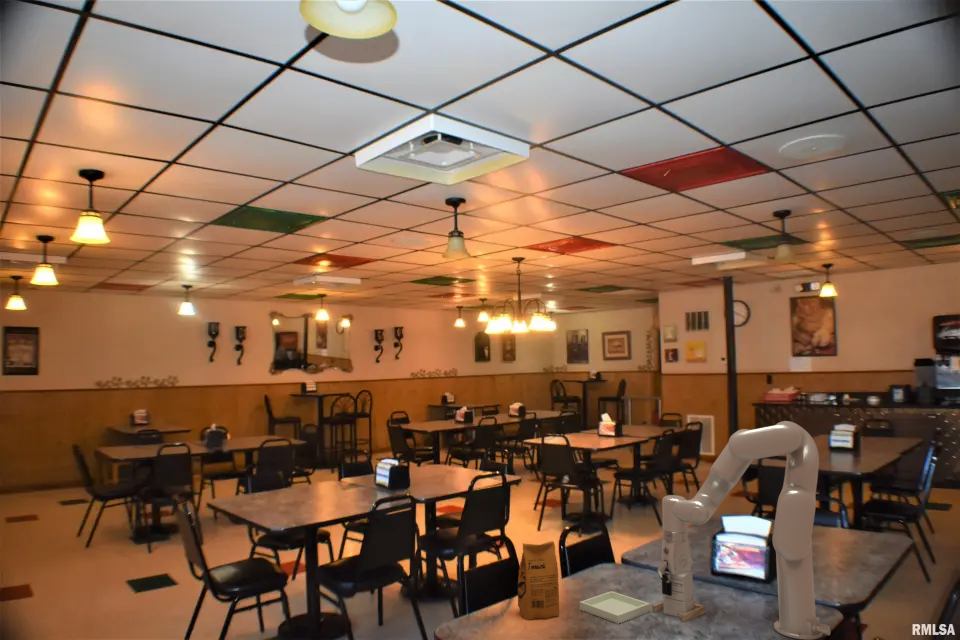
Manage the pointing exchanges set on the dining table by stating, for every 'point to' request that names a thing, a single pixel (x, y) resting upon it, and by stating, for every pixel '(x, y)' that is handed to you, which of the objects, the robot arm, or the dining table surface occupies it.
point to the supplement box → (679, 595)
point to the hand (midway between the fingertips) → (676, 591)
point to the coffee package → (538, 582)
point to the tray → (615, 607)
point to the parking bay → (686, 616)
